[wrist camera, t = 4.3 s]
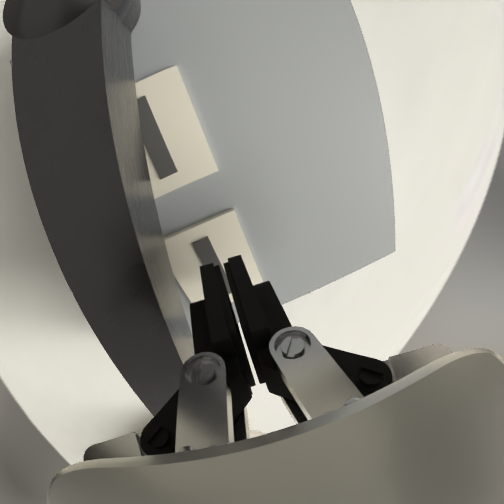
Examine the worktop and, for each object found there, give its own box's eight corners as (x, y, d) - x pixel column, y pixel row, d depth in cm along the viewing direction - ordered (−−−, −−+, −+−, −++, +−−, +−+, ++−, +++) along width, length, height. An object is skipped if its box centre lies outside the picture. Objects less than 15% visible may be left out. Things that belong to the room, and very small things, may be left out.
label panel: (24, 63, 7) (-11, 59, 5) (315, -39, 8) (345, -61, 5) (170, 331, 18) (171, 369, 15) (382, 240, 18) (411, 265, 15)
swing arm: (59, 1, 5) (11, -31, 1) (140, -26, 5) (124, -79, 2) (154, 367, 14) (156, 428, 11) (207, 359, 15) (219, 420, 11)
